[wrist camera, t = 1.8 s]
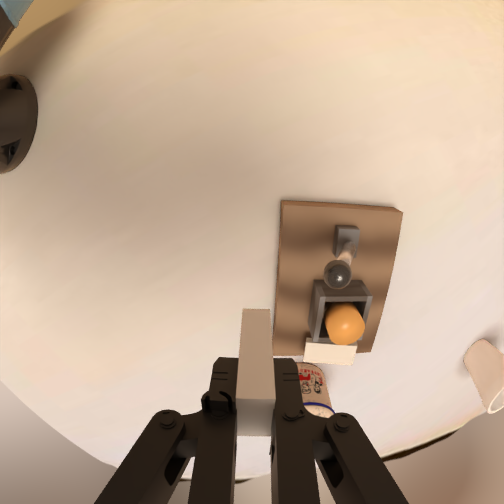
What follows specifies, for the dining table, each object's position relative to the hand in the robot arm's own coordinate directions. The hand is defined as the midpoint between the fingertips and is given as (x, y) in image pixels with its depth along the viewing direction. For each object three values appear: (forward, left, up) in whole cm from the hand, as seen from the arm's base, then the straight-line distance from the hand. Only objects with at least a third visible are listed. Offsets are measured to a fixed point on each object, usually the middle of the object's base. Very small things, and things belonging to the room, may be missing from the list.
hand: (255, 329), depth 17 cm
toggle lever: (0, +10, -14) cm, 17 cm away
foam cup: (+22, +44, -19) cm, 53 cm away
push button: (+8, +10, -13) cm, 18 cm away
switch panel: (+6, +10, -19) cm, 22 cm away
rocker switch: (+14, +10, -15) cm, 22 cm away
